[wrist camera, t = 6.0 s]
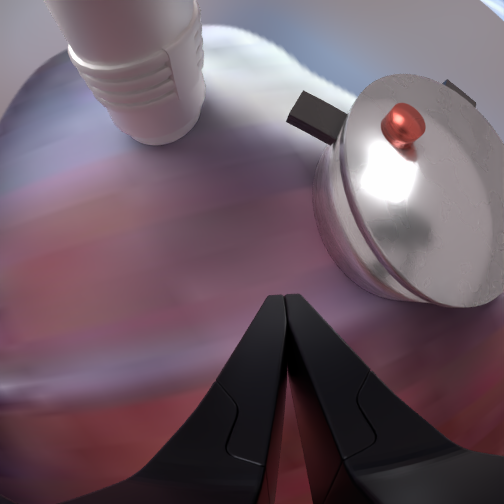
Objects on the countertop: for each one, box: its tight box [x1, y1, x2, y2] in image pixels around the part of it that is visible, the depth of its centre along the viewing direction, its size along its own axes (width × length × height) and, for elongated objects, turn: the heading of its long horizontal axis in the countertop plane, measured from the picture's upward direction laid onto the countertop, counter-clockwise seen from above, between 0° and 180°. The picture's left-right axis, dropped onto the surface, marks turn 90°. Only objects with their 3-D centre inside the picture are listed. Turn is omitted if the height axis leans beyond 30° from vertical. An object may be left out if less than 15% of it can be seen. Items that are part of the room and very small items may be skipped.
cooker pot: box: [286, 80, 476, 303], centre depth 19 cm, size 16×20×5 cm
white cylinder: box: [43, 0, 206, 145], centre depth 14 cm, size 7×7×15 cm
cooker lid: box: [339, 74, 504, 308], centre depth 15 cm, size 14×14×2 cm
